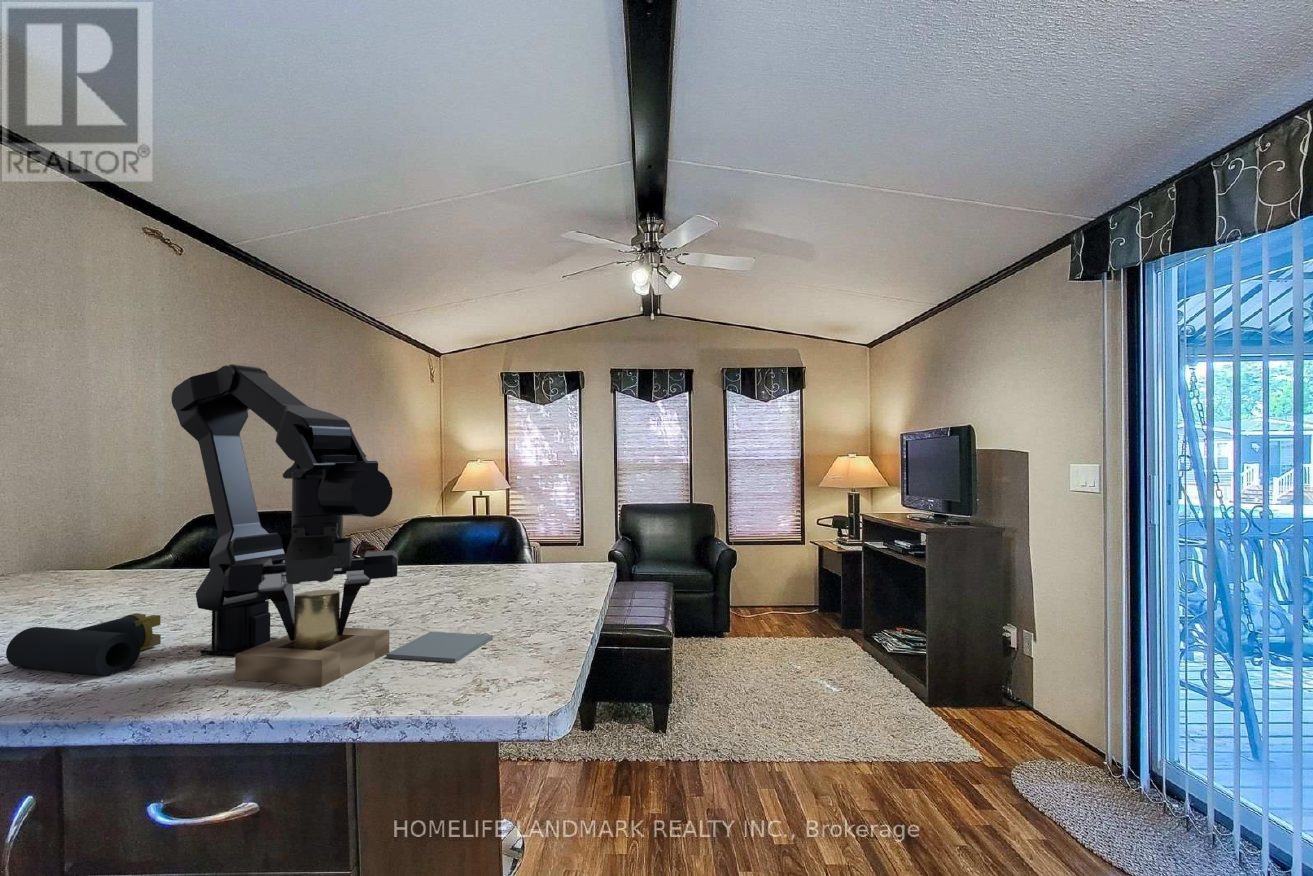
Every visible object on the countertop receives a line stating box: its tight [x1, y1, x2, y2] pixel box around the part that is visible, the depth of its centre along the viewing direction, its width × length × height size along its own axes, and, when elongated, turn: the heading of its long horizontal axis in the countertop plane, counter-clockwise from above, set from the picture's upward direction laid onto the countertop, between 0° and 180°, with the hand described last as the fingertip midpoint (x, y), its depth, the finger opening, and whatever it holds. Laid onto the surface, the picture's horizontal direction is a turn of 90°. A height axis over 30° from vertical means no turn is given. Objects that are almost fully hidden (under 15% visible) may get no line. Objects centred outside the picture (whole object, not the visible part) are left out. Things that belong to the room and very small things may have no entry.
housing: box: [234, 626, 390, 687], centre depth 75 cm, size 12×12×3 cm
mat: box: [385, 631, 494, 663], centre depth 81 cm, size 10×10×1 cm
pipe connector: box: [5, 612, 162, 677], centre depth 78 cm, size 12×5×15 cm
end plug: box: [294, 589, 341, 651], centre depth 75 cm, size 5×5×9 cm
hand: (317, 637), depth 75 cm, fingers closed on end plug, 5 cm apart
